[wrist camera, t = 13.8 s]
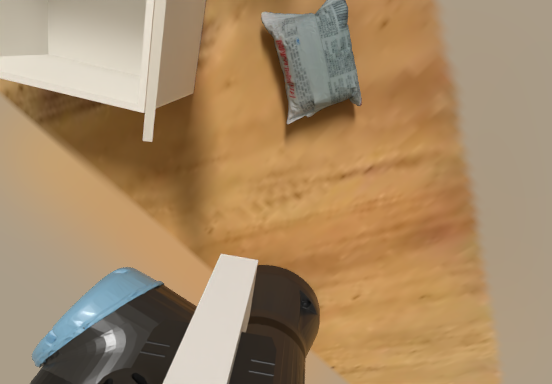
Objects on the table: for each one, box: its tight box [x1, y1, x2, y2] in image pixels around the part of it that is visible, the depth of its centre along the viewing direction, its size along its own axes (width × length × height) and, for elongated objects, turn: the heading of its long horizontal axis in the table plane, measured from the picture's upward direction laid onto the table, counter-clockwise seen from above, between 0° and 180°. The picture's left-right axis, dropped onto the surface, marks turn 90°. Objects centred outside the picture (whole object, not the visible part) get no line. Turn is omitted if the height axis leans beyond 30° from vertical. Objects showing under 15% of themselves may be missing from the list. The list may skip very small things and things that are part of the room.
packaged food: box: [261, 0, 361, 124], centre depth 41 cm, size 9×12×5 cm
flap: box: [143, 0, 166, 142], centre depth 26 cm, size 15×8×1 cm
